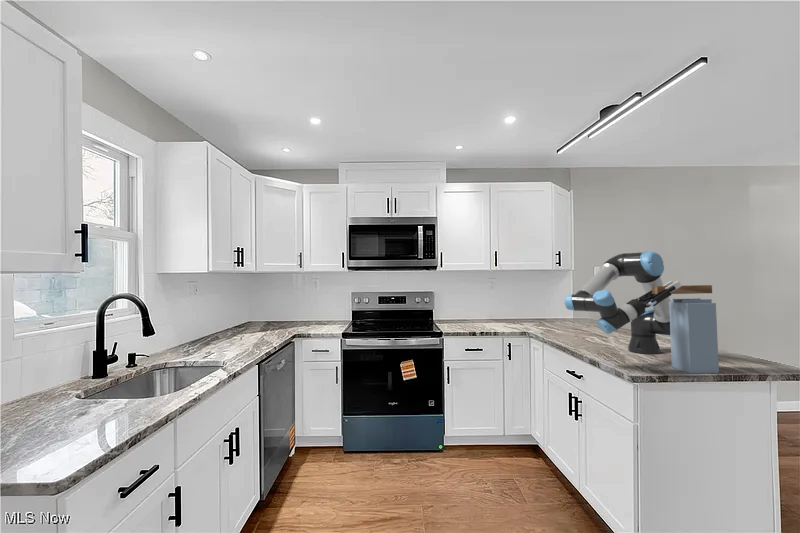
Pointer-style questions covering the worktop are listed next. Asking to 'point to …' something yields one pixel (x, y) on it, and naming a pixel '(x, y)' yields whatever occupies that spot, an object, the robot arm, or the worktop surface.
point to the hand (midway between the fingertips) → (676, 283)
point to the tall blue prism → (694, 335)
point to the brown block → (685, 289)
